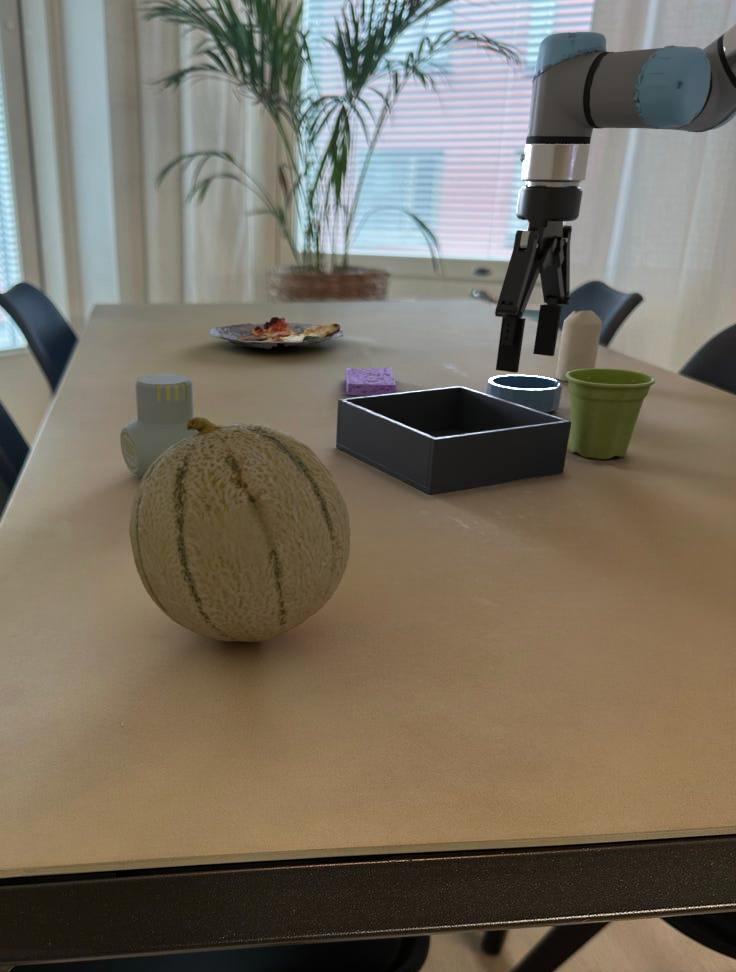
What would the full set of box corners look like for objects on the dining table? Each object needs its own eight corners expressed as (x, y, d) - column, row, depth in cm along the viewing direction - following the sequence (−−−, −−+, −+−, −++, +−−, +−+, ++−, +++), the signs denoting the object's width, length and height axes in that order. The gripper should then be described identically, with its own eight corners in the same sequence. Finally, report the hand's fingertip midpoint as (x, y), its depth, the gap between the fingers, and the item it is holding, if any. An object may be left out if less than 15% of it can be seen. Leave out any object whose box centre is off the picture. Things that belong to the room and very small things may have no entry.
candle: (587, 384, 138) (598, 314, 133) (550, 379, 140) (560, 311, 136) (596, 377, 142) (608, 310, 137) (561, 373, 144) (571, 307, 140)
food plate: (281, 329, 184) (281, 311, 183) (368, 344, 169) (369, 324, 168) (184, 343, 169) (184, 323, 168) (270, 361, 154) (270, 339, 153)
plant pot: (550, 459, 102) (562, 380, 98) (558, 438, 110) (569, 365, 106) (639, 468, 99) (655, 387, 95) (640, 446, 107) (655, 371, 103)
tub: (563, 473, 98) (571, 421, 95) (429, 494, 91) (434, 439, 89) (456, 431, 113) (461, 385, 110) (335, 447, 107) (337, 399, 104)
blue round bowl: (573, 412, 122) (578, 385, 120) (516, 419, 118) (520, 392, 117) (526, 397, 130) (529, 372, 128) (471, 404, 126) (474, 378, 124)
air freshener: (118, 464, 100) (111, 372, 96) (189, 456, 103) (186, 366, 99) (144, 493, 92) (138, 393, 87) (222, 484, 94) (220, 386, 90)
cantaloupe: (361, 677, 59) (375, 448, 52) (132, 686, 58) (115, 453, 51) (327, 584, 72) (335, 391, 65) (140, 590, 71) (127, 394, 64)
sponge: (346, 396, 130) (347, 383, 129) (345, 378, 141) (346, 366, 140) (395, 397, 130) (396, 384, 129) (390, 379, 141) (391, 366, 140)
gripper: (555, 182, 122) (531, 345, 132) (482, 185, 104) (461, 374, 114) (612, 183, 118) (583, 351, 128) (546, 187, 100) (518, 382, 110)
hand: (525, 362), depth 121 cm, fingers open, 13 cm apart
